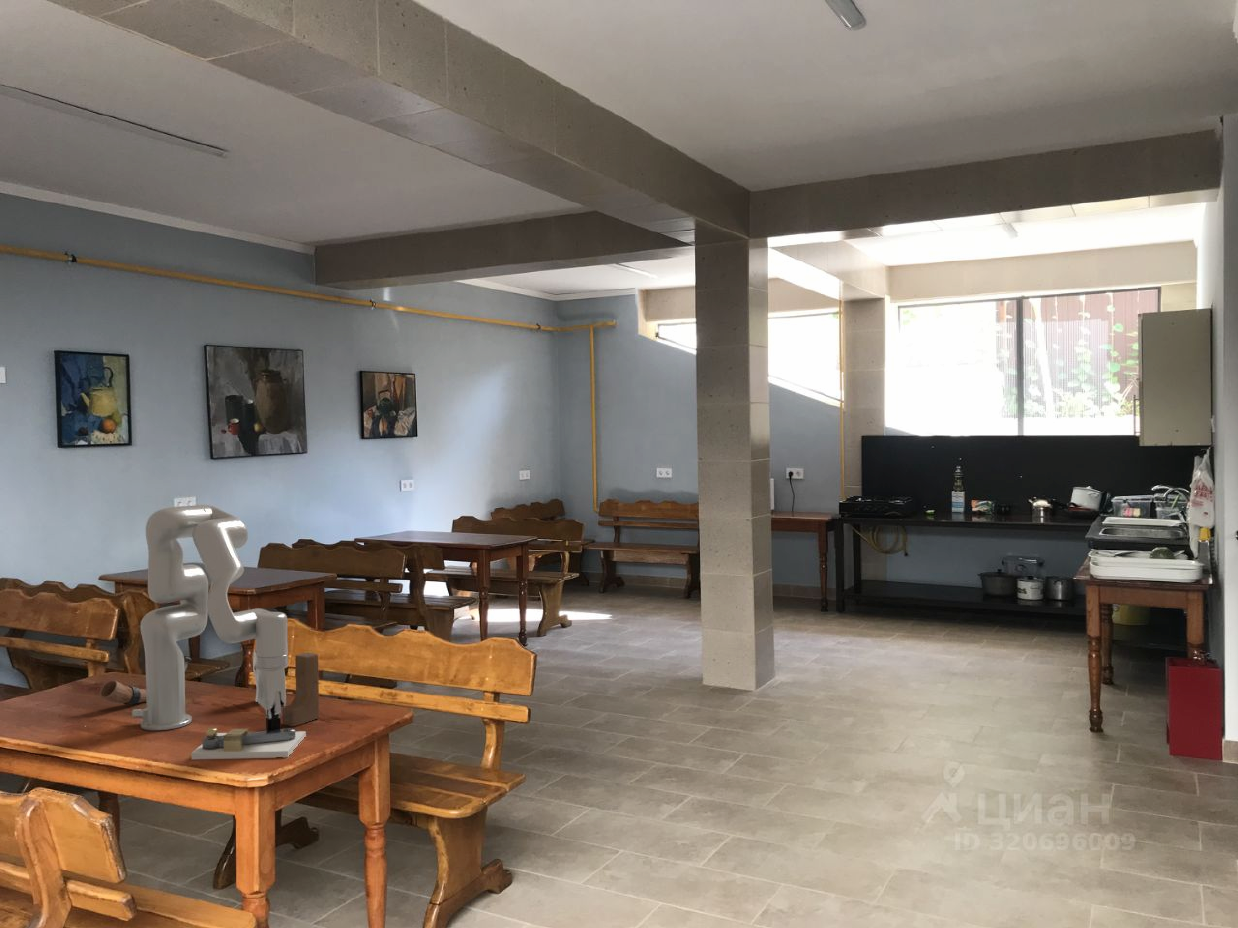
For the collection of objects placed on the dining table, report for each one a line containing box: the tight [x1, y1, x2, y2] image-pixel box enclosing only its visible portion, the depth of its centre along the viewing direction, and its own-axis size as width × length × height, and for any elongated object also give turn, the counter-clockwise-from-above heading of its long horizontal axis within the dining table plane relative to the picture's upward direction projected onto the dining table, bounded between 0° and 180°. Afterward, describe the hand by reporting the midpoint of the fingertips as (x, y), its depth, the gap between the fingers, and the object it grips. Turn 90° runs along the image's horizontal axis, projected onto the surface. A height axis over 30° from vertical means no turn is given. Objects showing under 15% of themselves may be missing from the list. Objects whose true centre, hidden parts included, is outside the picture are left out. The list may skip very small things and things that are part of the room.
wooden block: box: [281, 652, 320, 728], centre depth 270 cm, size 9×4×18 cm, turn 146°
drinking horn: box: [99, 656, 192, 705], centre depth 293 cm, size 6×30×10 cm, turn 154°
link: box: [201, 727, 296, 749], centre depth 247 cm, size 22×4×2 cm, turn 111°
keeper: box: [206, 727, 249, 752], centre depth 243 cm, size 9×6×5 cm, turn 93°
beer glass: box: [252, 649, 259, 703], centre depth 291 cm, size 7×7×15 cm
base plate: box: [191, 730, 307, 760], centre depth 248 cm, size 23×16×2 cm
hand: (273, 733), depth 252 cm, fingers closed
